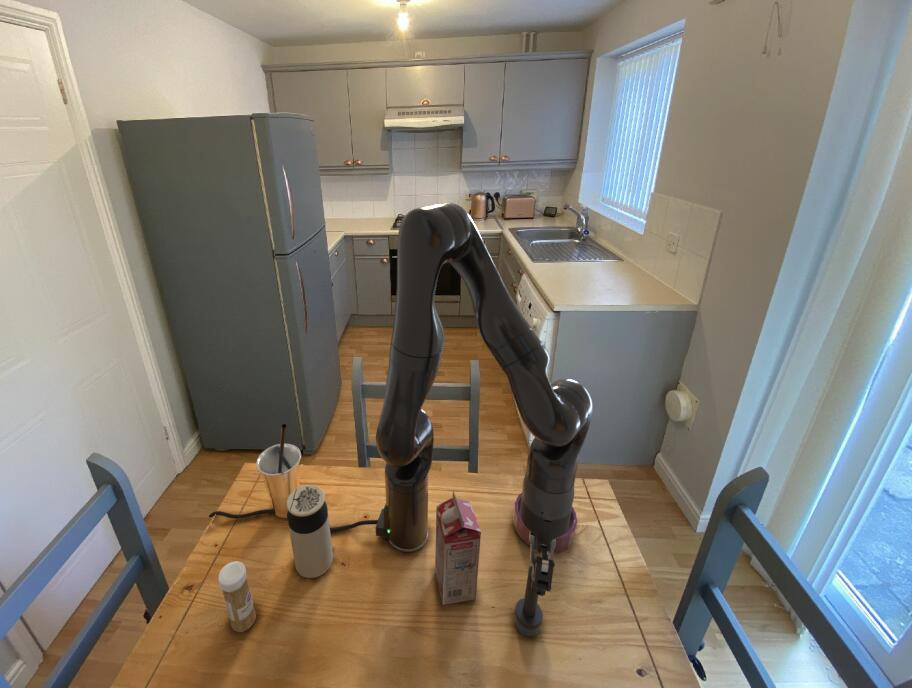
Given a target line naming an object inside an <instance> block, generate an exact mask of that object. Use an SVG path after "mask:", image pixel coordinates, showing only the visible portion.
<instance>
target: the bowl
mask: <svg viewBox="0 0 912 688" xmlns="http://www.w3.org/2000/svg"><path fill="white" fill-rule="evenodd" d="M521 497H522V492H521V493H519V494H518V495H517V496H516V499H515V501H514V506H513V514H512V524H513V527H514V530H515V533H517V535H518V536H519V538H520V539H521V540H522V541H523V542H524V543H525V544H527V545H528V546H529V547H530V545H529V534H530V531H529V530H528V529H527V528H526V527H525V525H524V524H523V522H522V520H521V517H520V506H521ZM577 526H578V517H577V513H576V510H575V509H574V506H572V510H571V516H570V522H569V527H568V530H567V531H566V533H565V534H564V535H562V536H561V537H558V538H556V546H555V548H554V553H561V552H564V551H565V550H568V549H569V548H570V547H571V545H573V543H574V539H575V536H576V533H577V532H576V531H577Z"/></svg>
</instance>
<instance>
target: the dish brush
mask: <svg viewBox="0 0 912 688" xmlns="http://www.w3.org/2000/svg"><path fill="white" fill-rule="evenodd" d="M527 571H528V573H527V579H526V586H525V592H524V597H523V598H520V599H519V600H518V601H517V602H516V604H515V608H514V625H515V627H516V629H517V631H518V632H519V633H520V634H522V635H523V636H525V637H527V638H532V637H533V638H534V637H535V636H537V635H538V634H539V631H540V627H541V625H542V623H543V617H544V615H543V610H542V608H541V606H540V605H539V603H538V600H539V595H535V594H533V593H532V592H531V582H532V572H533V564H531V565H530V566H529V567H528V570H527Z"/></svg>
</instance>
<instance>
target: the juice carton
mask: <svg viewBox="0 0 912 688" xmlns="http://www.w3.org/2000/svg"><path fill="white" fill-rule="evenodd" d="M435 510H436V511H435V512H436V513H435V555H434V556H435V557H434V558H435V560H434V574H435V578H436V583H437V587H438V591H439V594H440V595H439V596H440V599H441V603H442V605H444V606H445V605H450V604H455V603H461V602H469V601H474V600H476V599H477V598H476V597H477V587H478V574H479V562H480V549H481V536H482V530H481V528H480V525H479V523H478V520H477V517H476V514H475V512H474V509H473V506H472V503H471V501H469V500H466V499H461V498H457V497H456V494H455V491H454V490H453V491H452V497H451V498H449V499H447V500H445V501H443V502H441V503H439V504H438V505H436V508H435Z"/></svg>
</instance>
